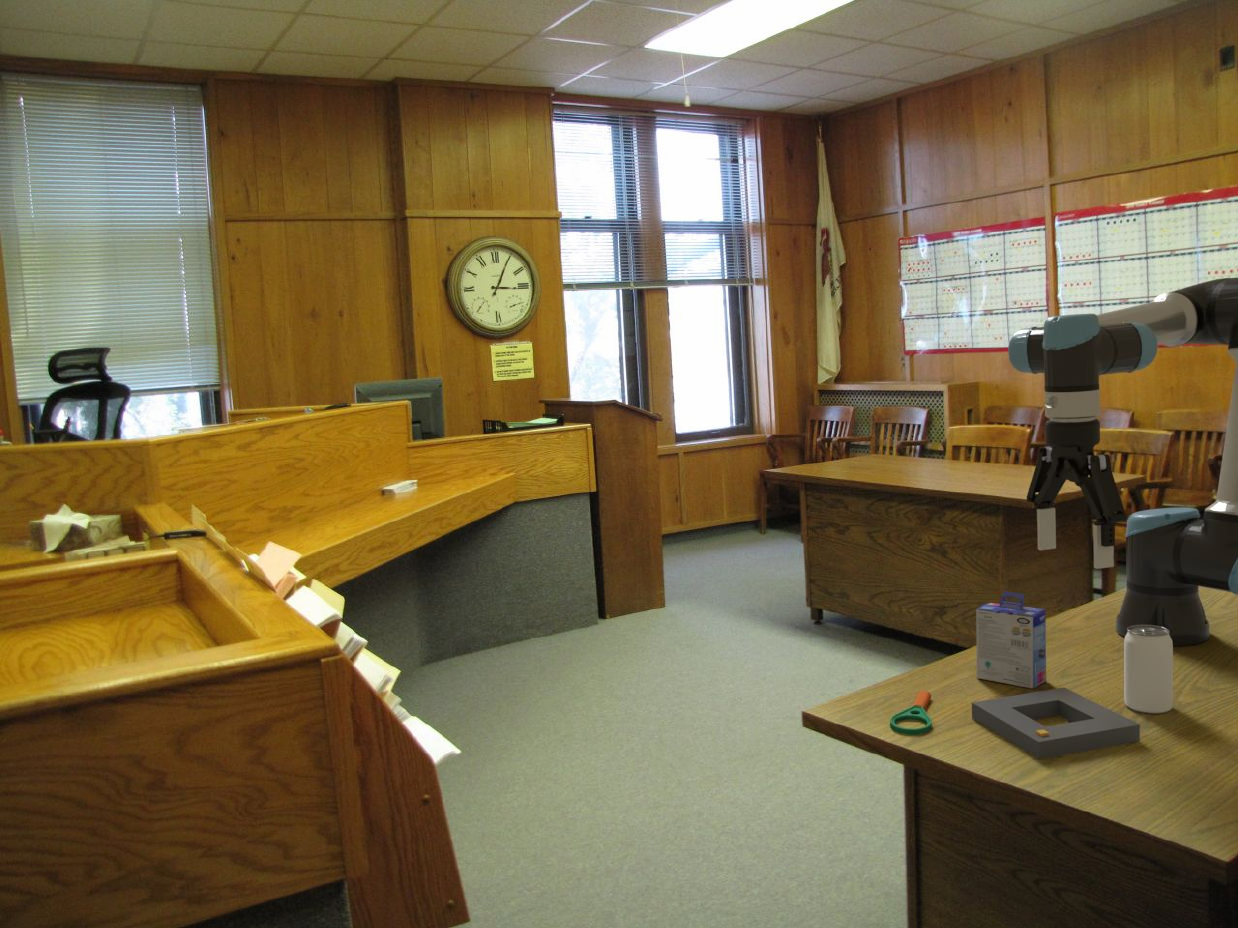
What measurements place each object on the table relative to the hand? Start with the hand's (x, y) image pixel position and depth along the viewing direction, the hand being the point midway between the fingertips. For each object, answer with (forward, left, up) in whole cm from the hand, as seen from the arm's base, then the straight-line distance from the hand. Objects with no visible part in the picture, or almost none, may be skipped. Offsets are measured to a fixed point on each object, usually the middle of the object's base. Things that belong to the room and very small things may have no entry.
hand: (1074, 558), depth 154 cm
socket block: (+10, +8, -23) cm, 26 cm away
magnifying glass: (+25, -4, -23) cm, 34 cm away
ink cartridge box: (+3, -12, -23) cm, 26 cm away
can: (-8, +6, -23) cm, 25 cm away
